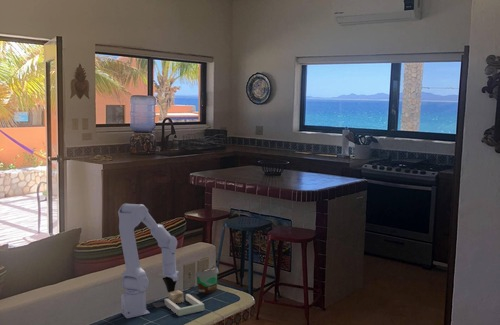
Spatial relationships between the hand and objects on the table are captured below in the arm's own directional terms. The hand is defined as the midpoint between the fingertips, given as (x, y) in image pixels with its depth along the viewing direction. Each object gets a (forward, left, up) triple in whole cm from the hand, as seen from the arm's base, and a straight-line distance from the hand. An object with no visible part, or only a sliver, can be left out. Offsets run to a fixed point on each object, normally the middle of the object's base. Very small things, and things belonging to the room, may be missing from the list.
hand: (171, 293), depth 233 cm
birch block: (0, -6, -2) cm, 6 cm away
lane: (0, -14, -2) cm, 15 cm away
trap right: (+8, -6, -2) cm, 10 cm away
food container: (+18, -2, -2) cm, 18 cm away
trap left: (-7, -6, -2) cm, 10 cm away
